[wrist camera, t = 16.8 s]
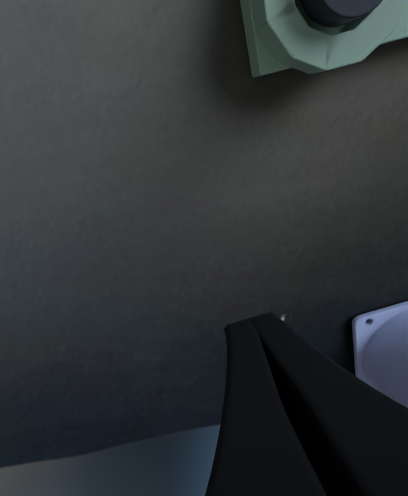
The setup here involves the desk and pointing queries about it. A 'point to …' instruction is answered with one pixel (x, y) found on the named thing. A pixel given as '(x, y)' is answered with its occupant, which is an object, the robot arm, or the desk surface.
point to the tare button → (337, 10)
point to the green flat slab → (315, 36)
